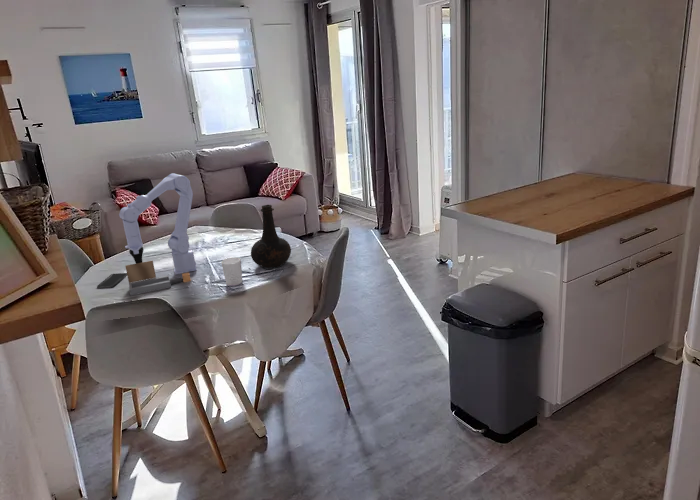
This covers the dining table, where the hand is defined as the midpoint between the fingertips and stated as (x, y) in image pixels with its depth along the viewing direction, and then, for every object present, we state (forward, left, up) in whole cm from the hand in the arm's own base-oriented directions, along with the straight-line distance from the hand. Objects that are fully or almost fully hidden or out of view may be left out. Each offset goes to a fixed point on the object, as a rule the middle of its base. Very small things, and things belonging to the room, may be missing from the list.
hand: (139, 265), depth 219 cm
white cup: (-36, +22, -9) cm, 43 cm away
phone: (+12, -10, -9) cm, 18 cm away
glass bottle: (-56, +10, -9) cm, 57 cm away
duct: (-3, +8, -8) cm, 12 cm away
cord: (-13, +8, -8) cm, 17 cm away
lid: (0, +3, -2) cm, 4 cm away
